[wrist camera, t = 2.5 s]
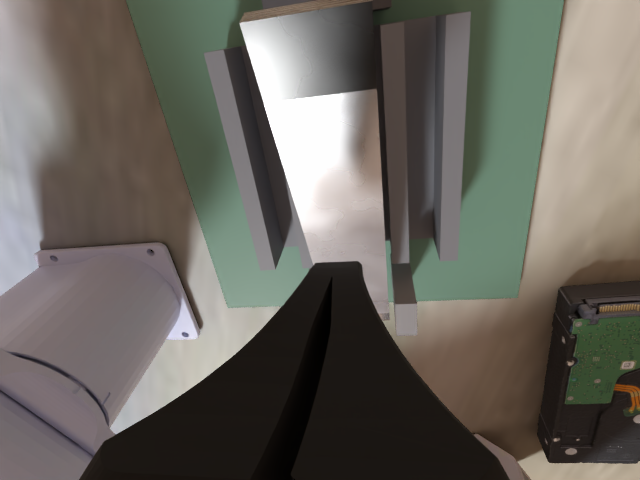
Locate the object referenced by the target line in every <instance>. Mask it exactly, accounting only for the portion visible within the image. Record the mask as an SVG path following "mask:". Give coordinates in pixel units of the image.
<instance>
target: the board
mask: <svg viewBox="0 0 640 480" xmlns="http://www.w3.org/2000/svg"><path fill="white" fill-rule="evenodd" d="M310 1H316V0H126V3H127V6H128V9H129V12H130V15H131V18H132V21H133V24H134V27H135V30H136V33H137V36H138V39H139V42H140V45H141V48H142V51H143V54H144V57H145V60H146V63H147V66H148V69H149V72H150V75H151V78H152V81H153V84H154V87H155V90H156V93H157V96H158V99H159V102H160V105H161V108H162V111H163V114H164V117H165V120H166V123H167V126H168V129H169V132H170V135H171V138H172V141H173V144H174V147H175V150H176V153H177V156H178V159H179V162H180V165H181V168H182V171H183V174H184V177H185V180H186V183H187V186H188V189H189V192H190V195H191V198H192V201H193V204H194V207H195V210H196V213H197V216H198V219H199V222H200V225H201V228H202V231H203V234H204V237H205V240H206V243H207V246H208V249H209V252H210V256H211V259H212V262H213V265H214V268H215V271H216V274H217V277H218V280H219V283H220V286H221V289H222V292H223V295H224V298H225V301H226V304H227V307H228V308H239V307H268V306H283V305H284V303H285V302H286V301H287V300H288V298H289V297H290V296H291V295H292V293H293V292H294V291H295V290H296V288H297V287H298V286H299V284H300V283H301V281H302V280H303V279H304V277H305V276H306V275H307V273H308V272H309V270H310V269H311V268H312V266H313V262H312V259H311V256H310V253H309V249H308V246H307V243H306V239H305V236H304V233H303V230H302V226H301V223H300V220H299V217H298V213H297V210H296V207H295V203H294V200H293V197H292V194H291V190H290V187H289V184H288V180H287V177H286V174H285V171H284V167H283V164H282V161H281V158H280V154H279V151H278V148H277V144H276V141H275V138H274V135H273V131H272V128H271V125H270V121H269V118H268V115H267V112H266V108H265V105H264V102H263V99H262V96H261V92H260V89H259V86H258V83H257V79H256V76H255V73H254V69H253V66H252V63H251V60H250V56H249V53H248V50H247V47H246V43H245V40H244V37H243V33H242V30H241V27H240V24H239V23H240V21H241V19H242V16H243V14H244V13H245V12H251V11H257V10H263V9H269V8H275V7H280V6H286V5H292V4H298V3H304V2H310ZM563 3H564V0H372V8H373V26H374V45H375V63H376V81H377V100H378V118H379V137H380V155H381V174H382V192H383V210H384V229H385V247H386V266H387V284H388V302H394V312H395V323H396V335H397V336H409V335H417V302H416V301H441V300H469V299H498V298H518V292H519V286H520V279H521V273H522V267H523V260H524V254H525V247H526V241H527V234H528V228H529V222H530V215H531V209H532V202H533V196H534V189H535V183H536V177H537V170H538V164H539V157H540V151H541V145H542V138H543V132H544V125H545V119H546V112H547V106H548V100H549V93H550V87H551V80H552V74H553V67H554V61H555V55H556V48H557V42H558V35H559V29H560V22H561V16H562V10H563Z"/></svg>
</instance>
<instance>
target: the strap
mask: <svg viewBox="0 0 640 480" xmlns="http://www.w3.org/2000/svg"><path fill="white" fill-rule="evenodd" d="M239 24H240V27H241V30H242V33H243V37H244V40H245V43H246V47H247V50H248V53H249V56H250V60H251V63H252V66H253V69H254V73H255V76H256V79H257V83H258V86H259V89H260V92H261V96H262V99H263V102H264V105H265V108H266V112H267V115H268V118H269V121H270V125H271V128H272V131H273V135H274V138H275V141H276V144H277V148H278V151H279V154H280V158H281V161H282V164H283V167H284V171H285V174H286V177H287V180H288V184H289V187H290V190H291V194H292V197H293V200H294V203H295V207H296V210H297V213H298V217H299V220H300V223H301V226H302V230H303V233H304V236H305V239H306V243H307V246H308V249H309V253H310V256H311V259H312V262H313V265H314V264H315V263H321V262H346V261H359V262H360V263H361V264H362V270H363V277H364V281H365V284H366V287H367V290H368V292H369V295H370V297H371V299H372V301H373V304H374V306H375V308H376V310H377V312H378V314H379V316H380V318H381V320H389V302H388V284H387V266H386V247H385V229H384V210H383V192H382V174H381V155H380V137H379V118H378V100H377V81H376V63H375V45H374V26H373V8H372V0H316V1H310V2H304V3H298V4H292V5H286V6H280V7H275V8H269V9H263V10H257V11H251V12H245V13H244V14H243V16H242V19H241V21H240V23H239Z"/></svg>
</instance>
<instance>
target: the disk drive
mask: <svg viewBox="0 0 640 480" xmlns="http://www.w3.org/2000/svg"><path fill="white" fill-rule="evenodd" d="M552 327H553V330H552V336H551V345H550V351H549V357H548V364H547V371H546V377H545V385H544V393H543V399H542V405H541V413H540V414H539V422H538V433H537V435H538V438H539V440H540V443H541V445H542V448H543V451H544V453H545V455H546V458H547V460H548V462H549V463H580V462H582V463H615V464H616V463H623V464H631V463H634V464H635V463H638V461H640V281H629V282H616V283H604V284H592V285H579V286H565V287H560V288H559V290H558V296H557V303H556V309H555V313H554V316H553V322H552Z"/></svg>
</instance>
